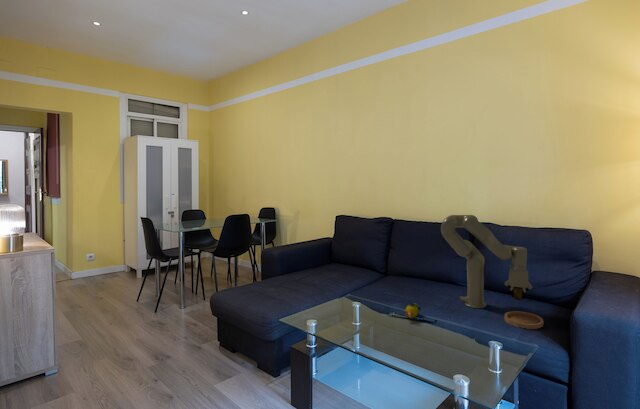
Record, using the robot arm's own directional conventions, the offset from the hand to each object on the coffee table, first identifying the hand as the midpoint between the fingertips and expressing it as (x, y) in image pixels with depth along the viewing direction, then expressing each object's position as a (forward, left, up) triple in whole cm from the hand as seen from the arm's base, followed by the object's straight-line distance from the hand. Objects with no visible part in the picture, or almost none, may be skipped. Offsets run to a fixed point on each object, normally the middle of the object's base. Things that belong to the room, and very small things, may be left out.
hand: (517, 296), depth 205 cm
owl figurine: (-54, -35, -9) cm, 65 cm away
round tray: (+3, -16, -8) cm, 18 cm away
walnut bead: (0, 0, -1) cm, 1 cm away
